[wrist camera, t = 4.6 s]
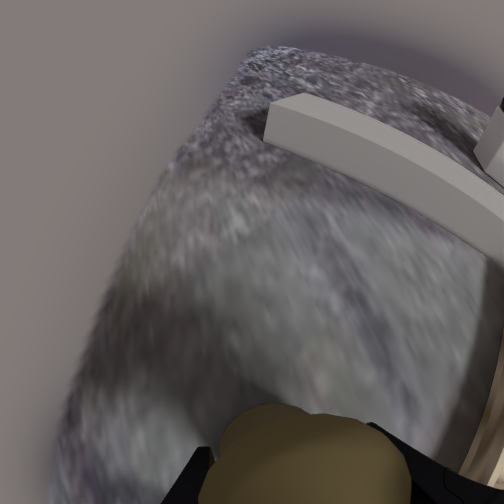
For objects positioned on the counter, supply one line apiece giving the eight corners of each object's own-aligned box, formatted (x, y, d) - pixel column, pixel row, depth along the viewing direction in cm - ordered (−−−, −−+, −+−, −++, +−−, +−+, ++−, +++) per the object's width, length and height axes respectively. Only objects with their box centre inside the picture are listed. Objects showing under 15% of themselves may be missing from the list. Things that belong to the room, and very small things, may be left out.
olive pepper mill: (348, 444, 13) (486, 468, 3) (274, 514, 10) (312, 632, 1) (272, 381, 15) (319, 332, 5) (195, 451, 12) (105, 514, 3)
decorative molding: (296, 125, 35) (261, 145, 28) (304, 92, 31) (270, 102, 25) (509, 241, 26) (524, 290, 19) (527, 215, 23) (549, 260, 16)
